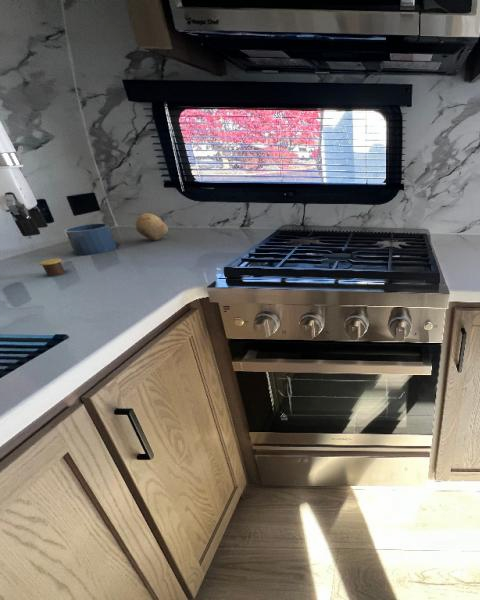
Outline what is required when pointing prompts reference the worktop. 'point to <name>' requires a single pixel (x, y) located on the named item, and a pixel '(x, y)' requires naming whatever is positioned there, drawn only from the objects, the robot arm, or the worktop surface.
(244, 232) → the worktop surface
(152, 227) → the potato
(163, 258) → the worktop surface
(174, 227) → the worktop surface
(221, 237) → the worktop surface
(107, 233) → the canister
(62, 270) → the coffee pod
